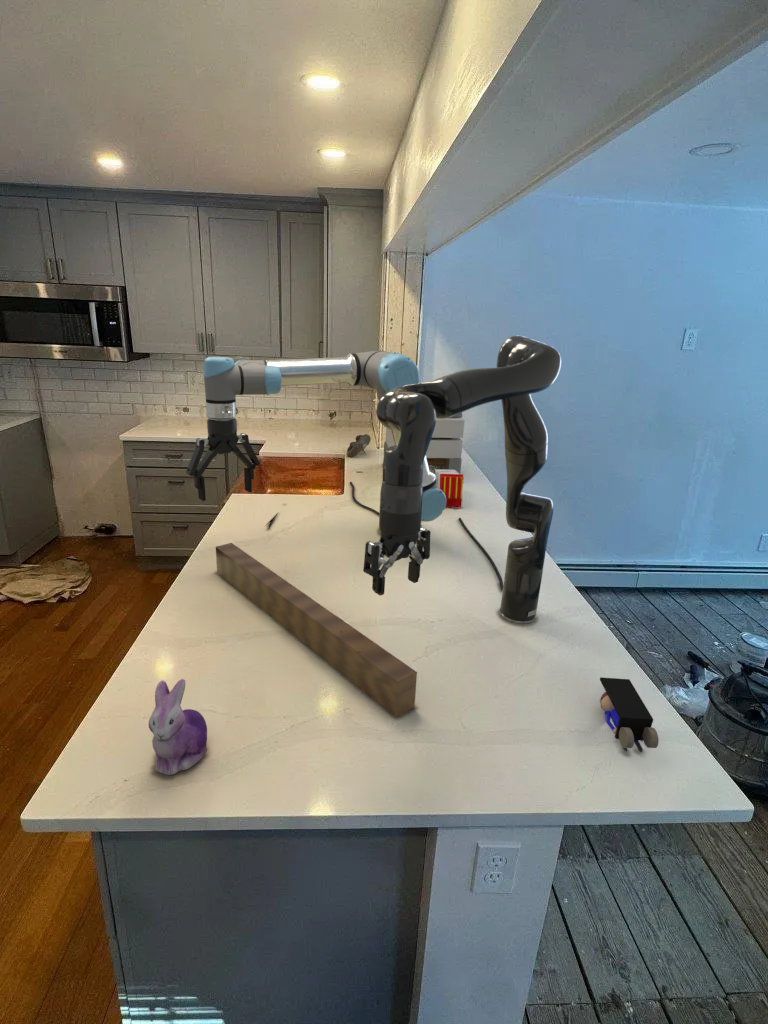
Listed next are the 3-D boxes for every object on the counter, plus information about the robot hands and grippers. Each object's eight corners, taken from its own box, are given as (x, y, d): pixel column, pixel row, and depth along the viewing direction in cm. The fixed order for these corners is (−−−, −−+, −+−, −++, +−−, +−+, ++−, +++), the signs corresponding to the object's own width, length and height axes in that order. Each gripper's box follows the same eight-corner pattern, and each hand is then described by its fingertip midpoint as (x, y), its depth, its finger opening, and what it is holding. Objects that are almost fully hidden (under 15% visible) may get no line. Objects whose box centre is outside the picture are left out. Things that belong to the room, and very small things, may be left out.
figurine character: (654, 765, 103) (622, 703, 116) (665, 735, 100) (631, 675, 113) (618, 764, 103) (590, 702, 116) (628, 734, 99) (598, 674, 113)
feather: (285, 507, 224) (287, 503, 224) (267, 531, 198) (270, 526, 197) (281, 504, 224) (284, 500, 223) (263, 528, 197) (265, 524, 197)
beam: (217, 572, 165) (215, 546, 163) (232, 568, 169) (231, 542, 166) (396, 717, 110) (398, 681, 107) (414, 707, 113) (417, 672, 110)
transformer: (382, 463, 289) (386, 382, 275) (445, 464, 293) (451, 384, 279) (390, 482, 257) (394, 392, 243) (460, 483, 261) (468, 394, 247)
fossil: (346, 440, 316) (367, 425, 311) (357, 453, 319) (378, 438, 314) (340, 453, 296) (362, 438, 291) (351, 468, 299) (374, 452, 294)
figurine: (156, 786, 92) (147, 710, 87) (149, 745, 100) (140, 673, 95) (215, 767, 96) (210, 694, 91) (204, 729, 105) (198, 660, 100)
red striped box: (455, 465, 253) (467, 475, 224) (454, 495, 256) (465, 508, 227) (428, 465, 253) (437, 474, 224) (427, 494, 256) (435, 507, 226)
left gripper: (180, 425, 138) (187, 507, 145) (271, 416, 154) (272, 491, 161) (168, 420, 143) (175, 499, 151) (257, 412, 159) (259, 484, 166)
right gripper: (384, 519, 93) (380, 606, 99) (444, 503, 102) (437, 584, 108) (356, 506, 98) (353, 590, 104) (415, 492, 107) (410, 570, 113)
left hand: (225, 495), depth 156 cm, fingers open, 13 cm apart
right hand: (396, 587), depth 106 cm, fingers open, 8 cm apart
